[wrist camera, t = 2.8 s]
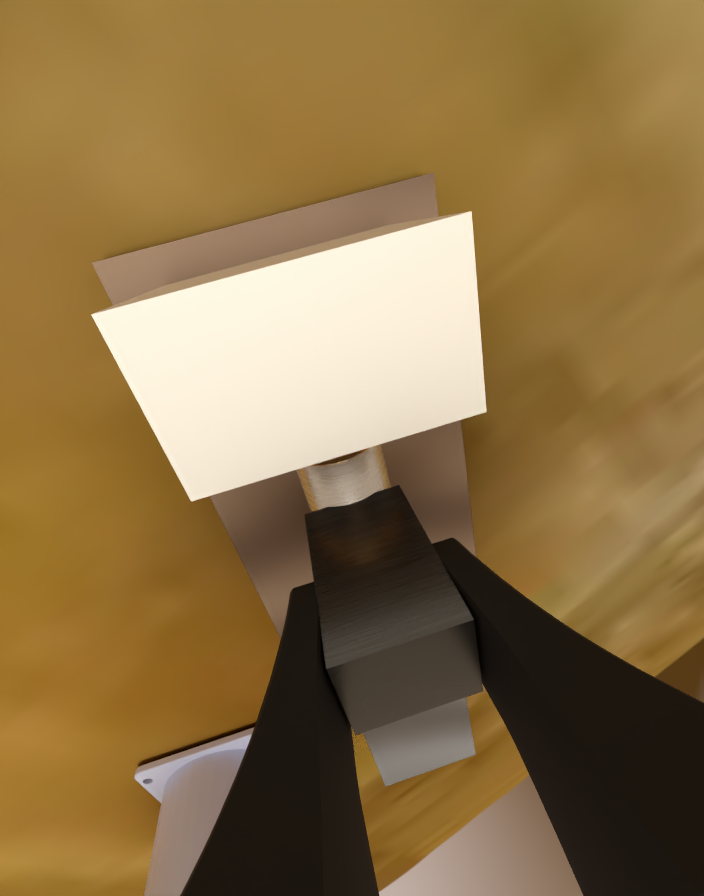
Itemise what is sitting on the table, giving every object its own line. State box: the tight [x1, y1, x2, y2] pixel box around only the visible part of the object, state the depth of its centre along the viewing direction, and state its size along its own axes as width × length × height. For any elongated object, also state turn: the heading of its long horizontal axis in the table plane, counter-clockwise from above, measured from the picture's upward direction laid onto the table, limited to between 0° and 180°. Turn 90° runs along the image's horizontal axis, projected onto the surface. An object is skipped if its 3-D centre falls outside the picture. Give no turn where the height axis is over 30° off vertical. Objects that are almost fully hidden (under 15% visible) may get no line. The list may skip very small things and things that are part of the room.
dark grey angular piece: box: [296, 444, 483, 735], centre depth 13 cm, size 14×3×8 cm, turn 14°
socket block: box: [91, 211, 486, 501], centre depth 10 cm, size 4×7×6 cm, turn 104°
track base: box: [92, 173, 476, 786], centre depth 16 cm, size 24×10×5 cm, turn 13°
